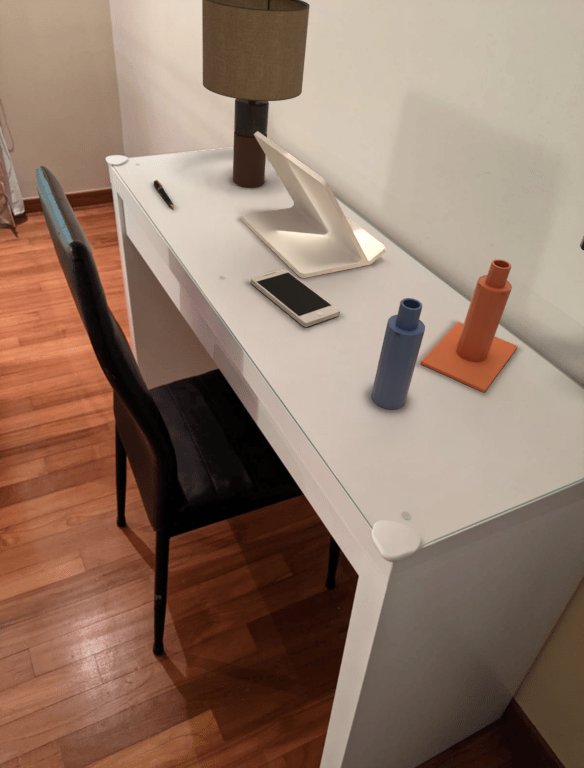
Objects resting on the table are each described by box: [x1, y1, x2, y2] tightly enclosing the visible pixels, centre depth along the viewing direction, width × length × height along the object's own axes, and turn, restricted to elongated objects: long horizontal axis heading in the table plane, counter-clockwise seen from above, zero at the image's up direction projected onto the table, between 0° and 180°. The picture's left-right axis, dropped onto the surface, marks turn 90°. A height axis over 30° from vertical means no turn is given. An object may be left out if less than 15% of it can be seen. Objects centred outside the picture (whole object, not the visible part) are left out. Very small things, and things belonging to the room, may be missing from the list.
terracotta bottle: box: [456, 258, 513, 362], centre depth 87 cm, size 5×5×15 cm
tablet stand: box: [240, 131, 387, 279], centre depth 112 cm, size 18×25×17 cm
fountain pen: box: [153, 179, 175, 209], centre depth 126 cm, size 14×1×2 cm, turn 26°
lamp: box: [201, 0, 311, 189], centre depth 126 cm, size 20×20×35 cm
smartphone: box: [250, 268, 341, 328], centre depth 100 cm, size 7×16×1 cm, turn 37°
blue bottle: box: [371, 297, 426, 410], centre depth 78 cm, size 5×5×15 cm
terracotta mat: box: [420, 321, 519, 393], centre depth 92 cm, size 10×14×1 cm
